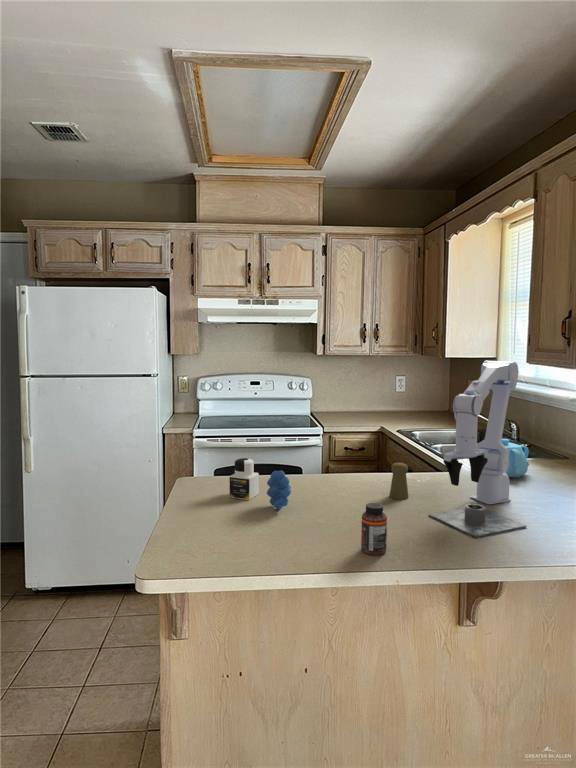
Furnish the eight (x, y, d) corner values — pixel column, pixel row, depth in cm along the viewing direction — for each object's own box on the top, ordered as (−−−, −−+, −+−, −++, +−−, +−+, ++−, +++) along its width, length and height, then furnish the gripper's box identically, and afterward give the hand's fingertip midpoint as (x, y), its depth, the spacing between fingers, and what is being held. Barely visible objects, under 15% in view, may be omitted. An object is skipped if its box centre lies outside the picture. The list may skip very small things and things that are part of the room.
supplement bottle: (358, 546, 125) (359, 501, 124) (382, 545, 125) (383, 500, 124) (364, 556, 119) (365, 509, 118) (389, 555, 119) (390, 508, 118)
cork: (408, 500, 160) (409, 466, 159) (389, 499, 161) (389, 465, 160) (408, 494, 166) (409, 461, 165) (389, 493, 167) (390, 460, 166)
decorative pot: (472, 475, 191) (473, 439, 189) (491, 467, 202) (492, 433, 201) (516, 483, 179) (518, 445, 178) (534, 475, 190) (535, 439, 189)
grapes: (301, 512, 149) (301, 471, 148) (281, 516, 145) (281, 475, 144) (281, 501, 159) (281, 463, 158) (262, 505, 155) (261, 466, 154)
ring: (473, 514, 145) (473, 502, 145) (488, 520, 141) (489, 507, 141) (460, 517, 143) (461, 505, 142) (476, 523, 138) (476, 511, 138)
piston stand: (476, 507, 153) (476, 497, 153) (526, 527, 137) (526, 516, 137) (428, 515, 146) (428, 505, 146) (475, 538, 130) (475, 526, 129)
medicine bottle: (229, 497, 162) (228, 460, 161) (239, 491, 169) (239, 456, 168) (249, 500, 160) (249, 462, 159) (259, 494, 166) (259, 458, 165)
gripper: (474, 431, 152) (473, 476, 153) (436, 436, 146) (435, 482, 147) (493, 436, 145) (491, 482, 147) (454, 440, 139) (453, 489, 140)
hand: (464, 483), depth 146 cm, fingers open, 7 cm apart
